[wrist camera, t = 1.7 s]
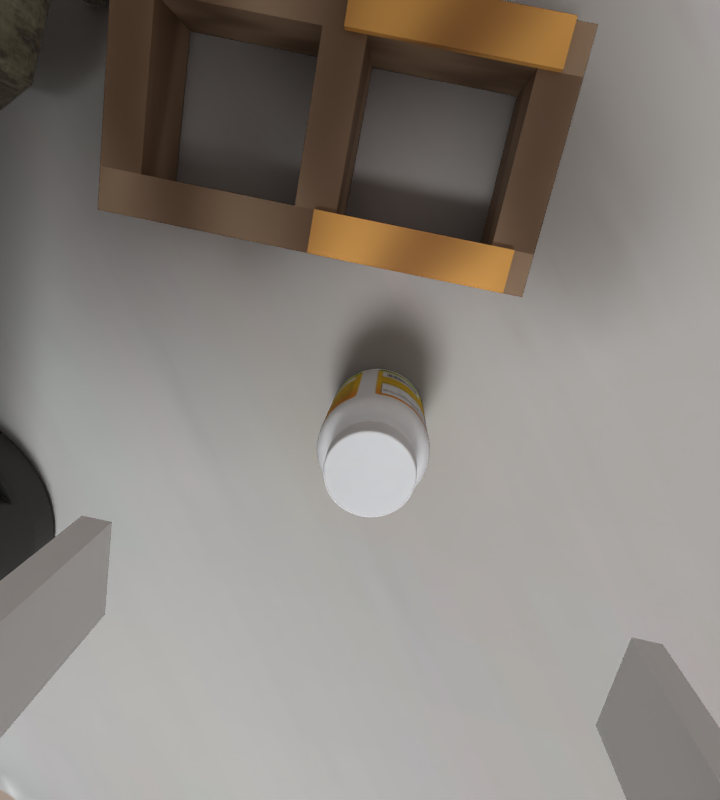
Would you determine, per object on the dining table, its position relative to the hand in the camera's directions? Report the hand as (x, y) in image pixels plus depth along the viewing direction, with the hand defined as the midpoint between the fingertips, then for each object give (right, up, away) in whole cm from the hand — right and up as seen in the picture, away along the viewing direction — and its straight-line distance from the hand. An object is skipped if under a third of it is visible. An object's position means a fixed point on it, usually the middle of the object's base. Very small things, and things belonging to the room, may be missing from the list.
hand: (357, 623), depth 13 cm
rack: (-1, +19, +14) cm, 24 cm away
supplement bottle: (+1, +5, +18) cm, 19 cm away
